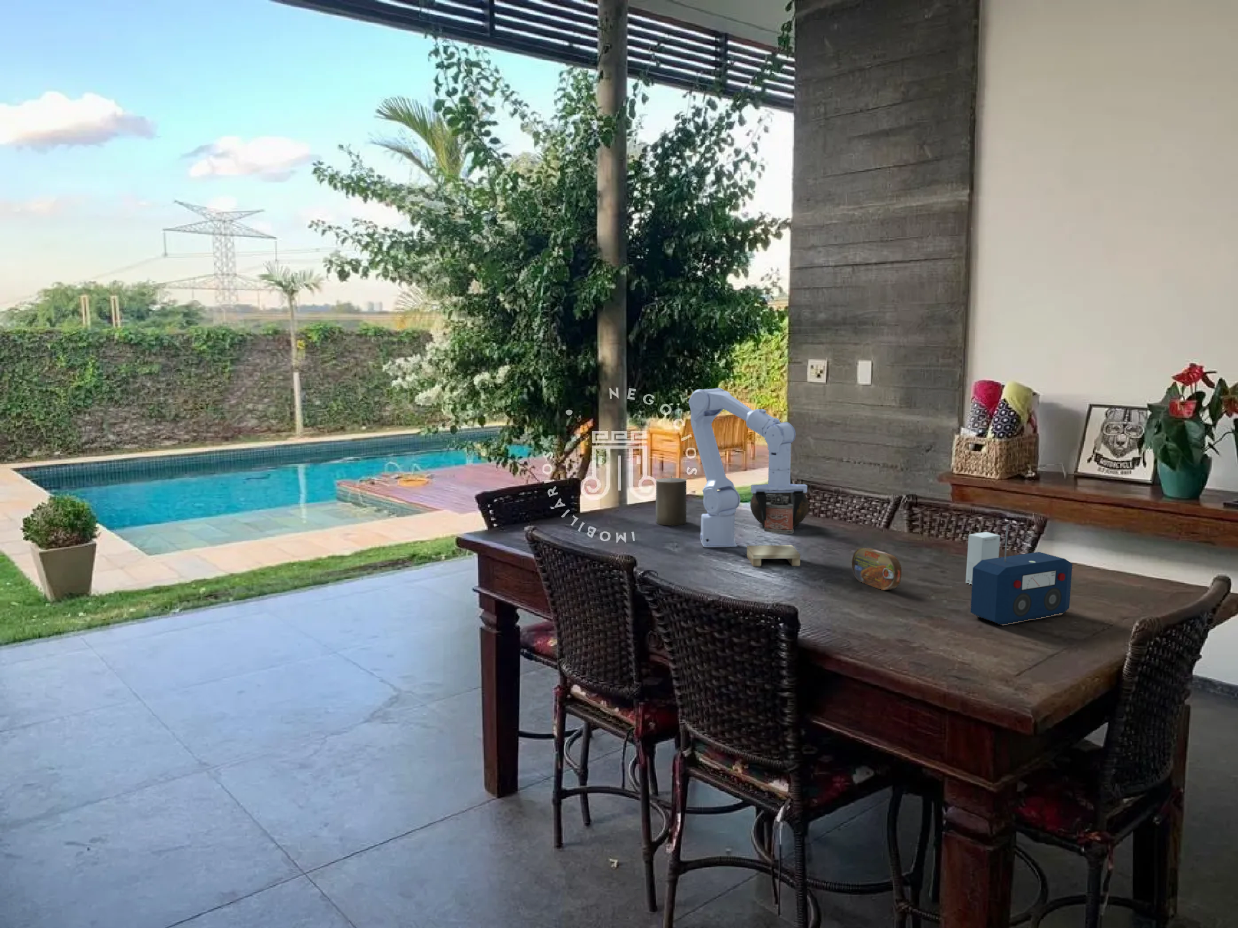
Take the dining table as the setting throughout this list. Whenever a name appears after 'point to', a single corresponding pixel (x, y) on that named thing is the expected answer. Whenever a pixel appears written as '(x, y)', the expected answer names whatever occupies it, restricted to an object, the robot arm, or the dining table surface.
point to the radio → (1020, 587)
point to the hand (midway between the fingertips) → (778, 519)
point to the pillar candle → (671, 501)
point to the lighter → (779, 515)
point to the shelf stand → (773, 554)
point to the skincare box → (981, 550)
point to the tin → (876, 568)
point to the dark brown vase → (801, 509)
